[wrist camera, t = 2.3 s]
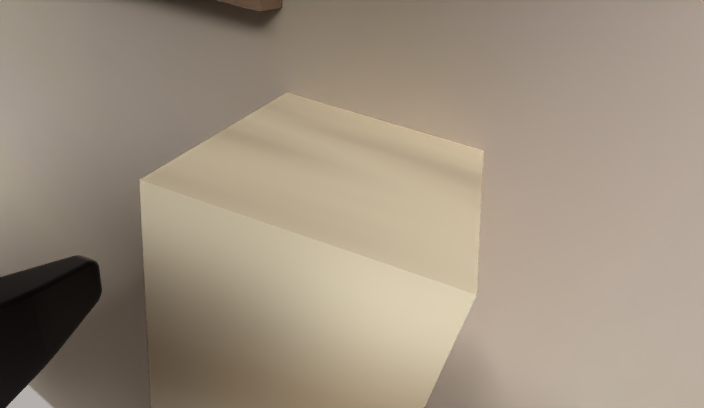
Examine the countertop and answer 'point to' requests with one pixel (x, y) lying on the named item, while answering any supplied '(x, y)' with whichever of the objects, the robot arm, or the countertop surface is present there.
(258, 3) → the nest board
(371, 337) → the maple block
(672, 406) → the countertop surface
